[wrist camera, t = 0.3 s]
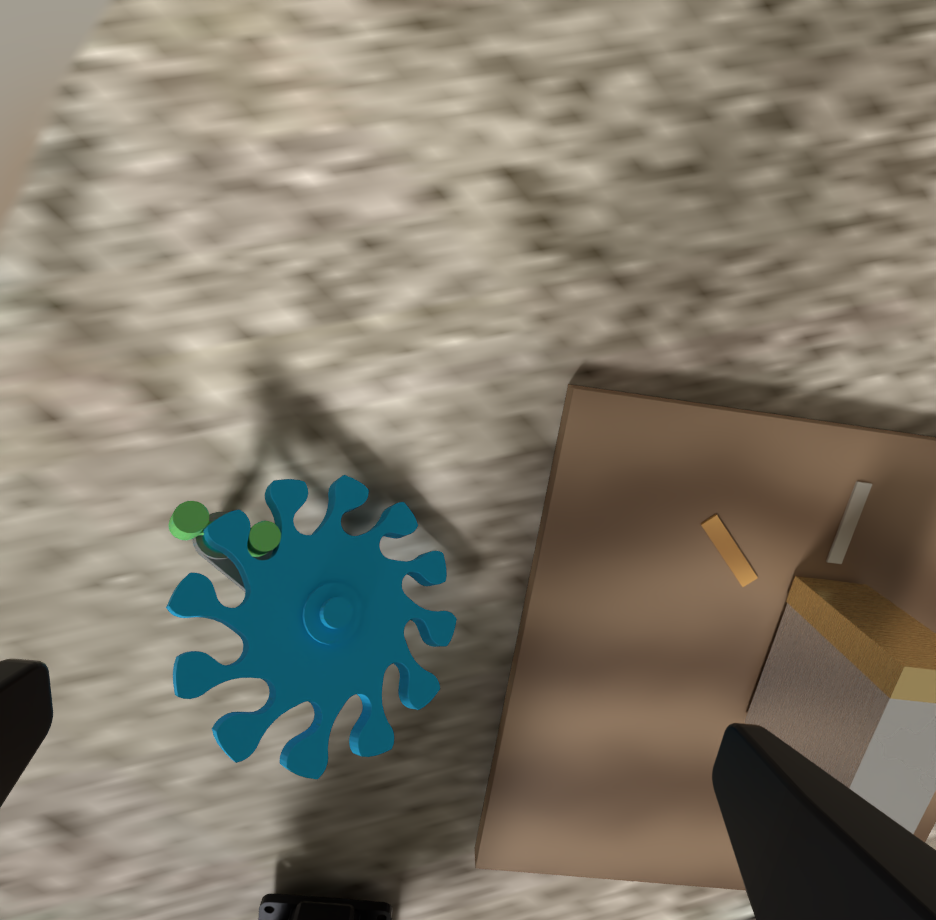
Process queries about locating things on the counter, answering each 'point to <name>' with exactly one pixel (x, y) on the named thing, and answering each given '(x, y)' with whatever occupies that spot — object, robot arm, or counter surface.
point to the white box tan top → (855, 693)
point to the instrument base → (679, 618)
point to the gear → (309, 619)
